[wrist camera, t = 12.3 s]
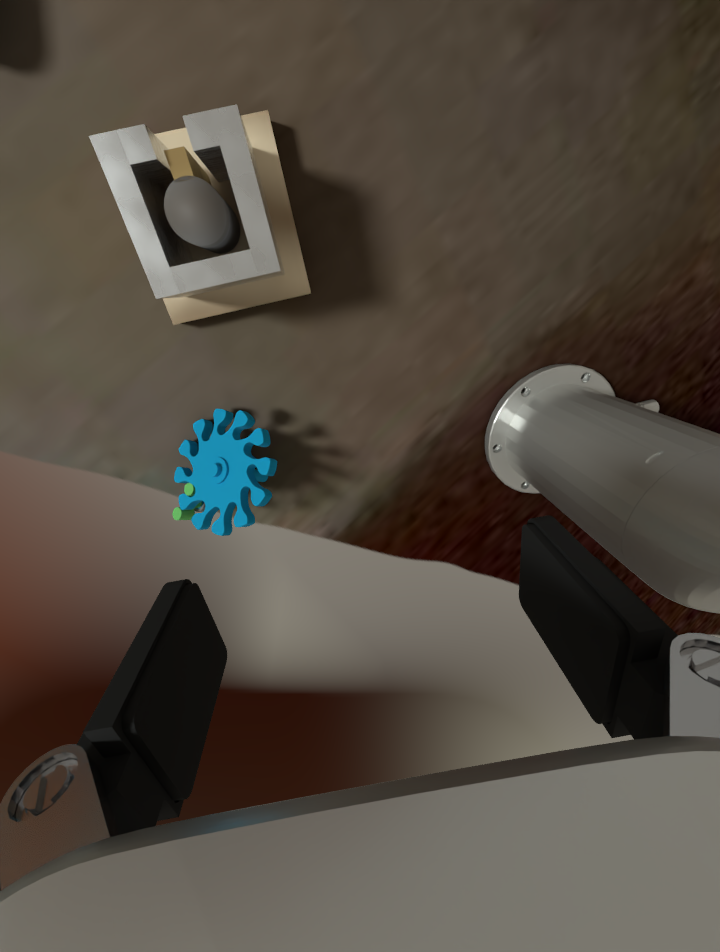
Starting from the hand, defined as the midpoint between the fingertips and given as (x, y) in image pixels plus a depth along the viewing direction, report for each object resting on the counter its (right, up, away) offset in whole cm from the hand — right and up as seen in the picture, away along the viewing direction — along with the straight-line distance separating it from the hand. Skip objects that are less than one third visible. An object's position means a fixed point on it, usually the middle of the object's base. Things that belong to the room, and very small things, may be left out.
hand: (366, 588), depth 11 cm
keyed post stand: (-10, +20, +15) cm, 27 cm away
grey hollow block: (-9, +19, +14) cm, 26 cm away
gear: (-12, +5, +23) cm, 26 cm away
